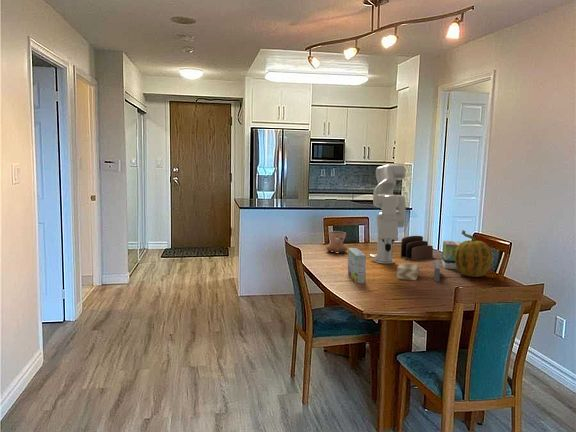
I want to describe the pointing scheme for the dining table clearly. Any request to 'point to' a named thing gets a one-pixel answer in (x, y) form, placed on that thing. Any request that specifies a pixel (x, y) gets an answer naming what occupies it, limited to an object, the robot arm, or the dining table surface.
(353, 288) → the dining table surface
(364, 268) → the snack box
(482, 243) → the pumpkin
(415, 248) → the letter holder
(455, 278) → the dining table surface
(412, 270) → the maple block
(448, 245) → the tea box
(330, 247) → the brown piece
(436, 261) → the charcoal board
